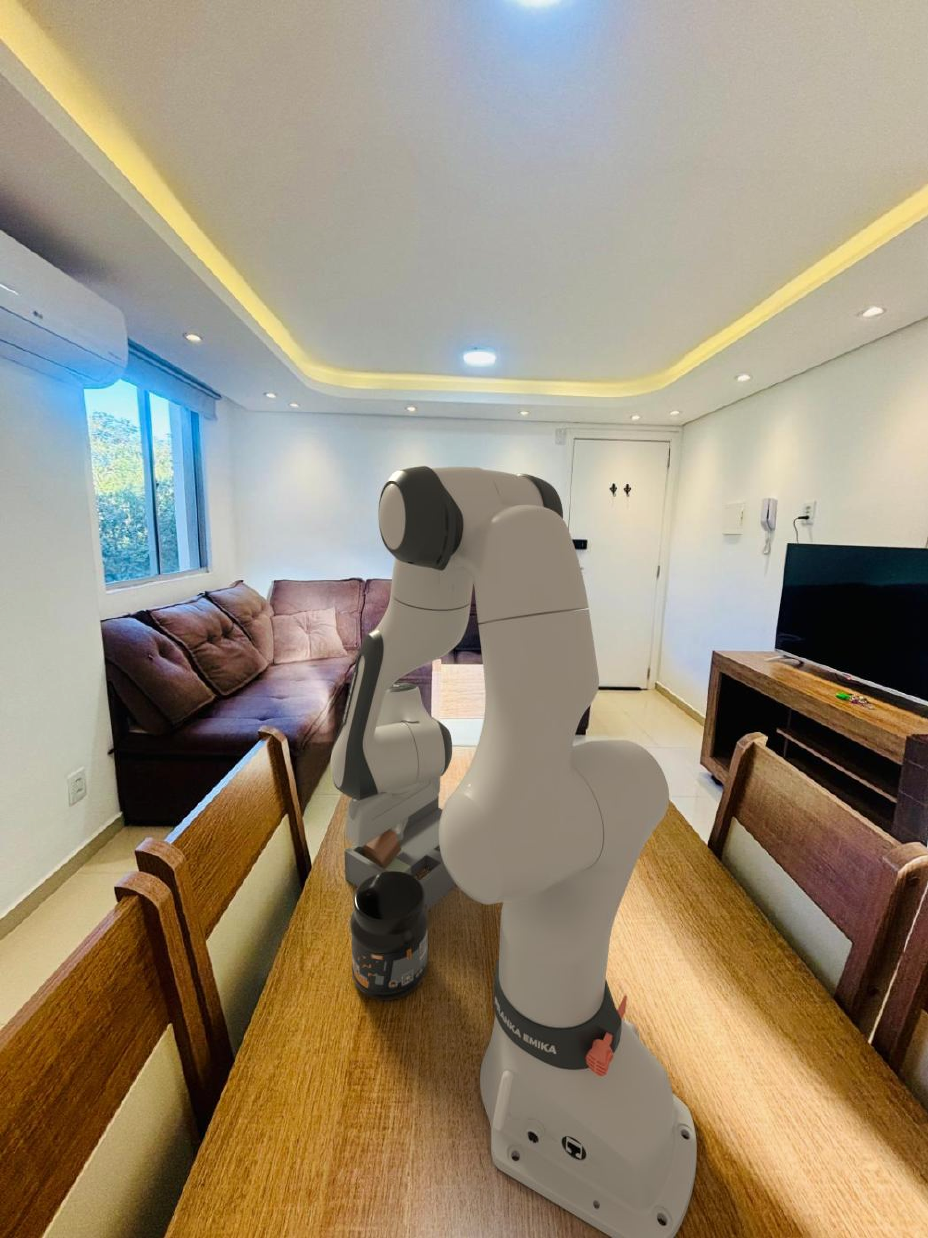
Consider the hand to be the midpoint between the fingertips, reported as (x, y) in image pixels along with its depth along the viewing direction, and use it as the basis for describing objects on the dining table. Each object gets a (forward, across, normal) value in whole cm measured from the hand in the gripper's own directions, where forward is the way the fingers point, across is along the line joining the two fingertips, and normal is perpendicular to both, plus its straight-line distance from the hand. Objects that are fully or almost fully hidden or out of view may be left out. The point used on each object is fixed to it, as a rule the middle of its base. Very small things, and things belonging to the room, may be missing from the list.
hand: (395, 840), depth 92 cm
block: (+1, -3, 0) cm, 3 cm away
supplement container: (+4, -16, -16) cm, 23 cm away
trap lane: (+4, +3, -4) cm, 7 cm away
